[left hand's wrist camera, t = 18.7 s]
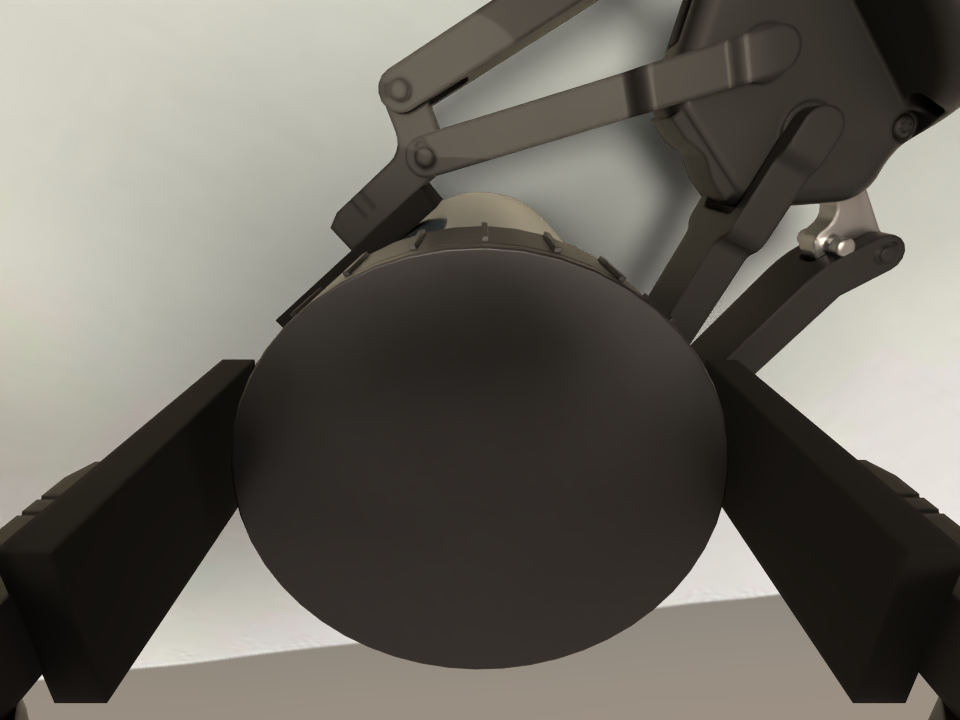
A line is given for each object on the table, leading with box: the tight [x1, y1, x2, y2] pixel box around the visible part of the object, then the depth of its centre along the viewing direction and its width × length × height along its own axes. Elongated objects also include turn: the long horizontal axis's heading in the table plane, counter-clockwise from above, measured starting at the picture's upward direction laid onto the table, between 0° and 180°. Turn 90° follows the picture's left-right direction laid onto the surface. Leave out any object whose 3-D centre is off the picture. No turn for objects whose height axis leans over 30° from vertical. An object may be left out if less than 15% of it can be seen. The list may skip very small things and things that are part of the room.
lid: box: [231, 222, 728, 669], centre depth 11 cm, size 9×9×2 cm
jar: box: [401, 192, 563, 242], centre depth 18 cm, size 8×8×16 cm
